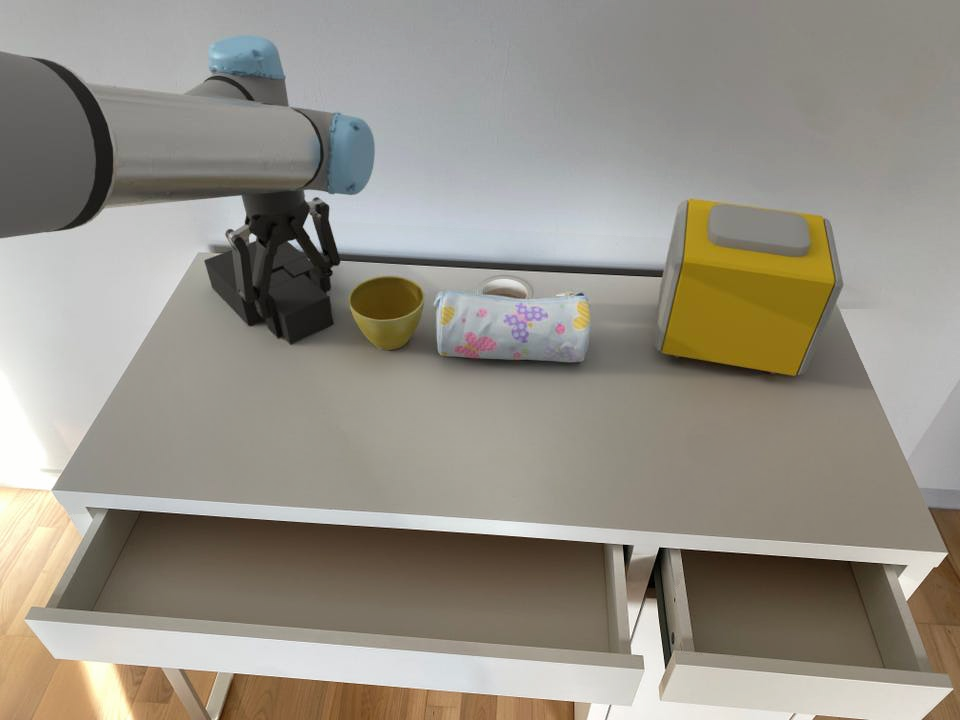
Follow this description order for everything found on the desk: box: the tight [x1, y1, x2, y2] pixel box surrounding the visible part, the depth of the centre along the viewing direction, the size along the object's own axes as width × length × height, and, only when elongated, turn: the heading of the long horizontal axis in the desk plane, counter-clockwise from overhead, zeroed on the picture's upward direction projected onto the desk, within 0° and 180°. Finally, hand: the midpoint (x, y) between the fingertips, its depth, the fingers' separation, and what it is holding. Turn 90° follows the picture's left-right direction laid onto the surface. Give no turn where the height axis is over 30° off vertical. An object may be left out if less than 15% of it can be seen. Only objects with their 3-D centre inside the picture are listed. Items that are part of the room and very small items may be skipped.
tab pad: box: [268, 269, 335, 345], centre depth 102 cm, size 7×10×5 cm
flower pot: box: [348, 275, 426, 351], centre depth 98 cm, size 10×10×7 cm
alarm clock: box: [653, 198, 844, 377], centre depth 95 cm, size 20×16×18 cm
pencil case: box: [433, 288, 592, 363], centre depth 95 cm, size 21×9×10 cm, turn 89°
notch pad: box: [203, 240, 316, 327], centre depth 106 cm, size 12×12×5 cm
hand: (299, 320), depth 102 cm, fingers closed on tab pad, 7 cm apart
